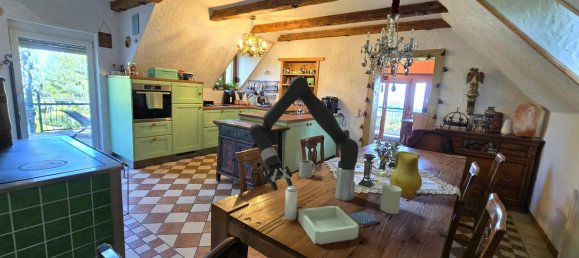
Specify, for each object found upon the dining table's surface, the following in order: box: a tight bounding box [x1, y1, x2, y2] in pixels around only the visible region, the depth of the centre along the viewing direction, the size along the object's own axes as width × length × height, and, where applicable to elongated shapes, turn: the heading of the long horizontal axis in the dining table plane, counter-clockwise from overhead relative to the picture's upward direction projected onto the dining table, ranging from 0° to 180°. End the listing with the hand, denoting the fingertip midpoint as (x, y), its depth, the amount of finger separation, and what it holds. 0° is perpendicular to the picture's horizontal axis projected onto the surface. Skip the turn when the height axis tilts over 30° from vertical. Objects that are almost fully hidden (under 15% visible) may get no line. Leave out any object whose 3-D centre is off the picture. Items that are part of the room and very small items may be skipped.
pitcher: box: [389, 150, 423, 199], centre depth 151 cm, size 17×19×25 cm
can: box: [379, 184, 402, 215], centre depth 129 cm, size 9×9×12 cm
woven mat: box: [347, 210, 379, 228], centre depth 118 cm, size 10×11×2 cm
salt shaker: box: [283, 185, 299, 221], centre depth 116 cm, size 5×5×14 cm
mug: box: [298, 159, 316, 179], centre depth 174 cm, size 12×9×10 cm
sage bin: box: [298, 205, 360, 245], centre depth 109 cm, size 19×19×5 cm
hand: (283, 188), depth 120 cm, fingers open, 8 cm apart
